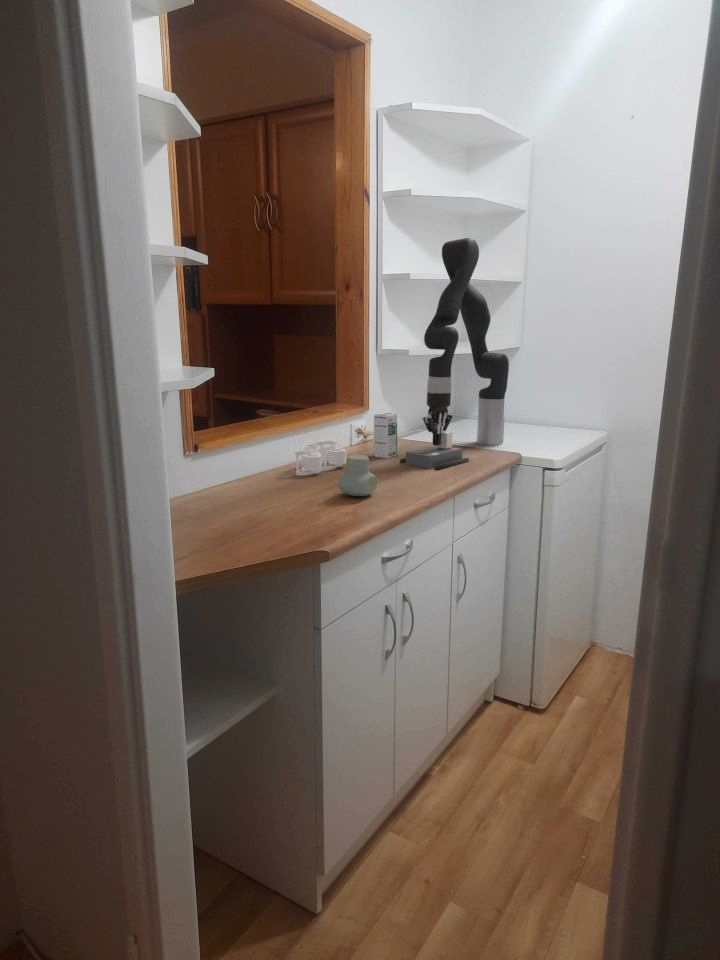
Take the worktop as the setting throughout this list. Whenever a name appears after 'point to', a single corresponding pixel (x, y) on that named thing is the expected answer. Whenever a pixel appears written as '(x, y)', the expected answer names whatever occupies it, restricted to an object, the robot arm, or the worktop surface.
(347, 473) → the air freshener
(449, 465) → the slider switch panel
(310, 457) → the skeletal toy car
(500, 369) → the robot arm
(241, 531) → the worktop surface
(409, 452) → the breaker panel
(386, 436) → the syrup box
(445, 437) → the handle
